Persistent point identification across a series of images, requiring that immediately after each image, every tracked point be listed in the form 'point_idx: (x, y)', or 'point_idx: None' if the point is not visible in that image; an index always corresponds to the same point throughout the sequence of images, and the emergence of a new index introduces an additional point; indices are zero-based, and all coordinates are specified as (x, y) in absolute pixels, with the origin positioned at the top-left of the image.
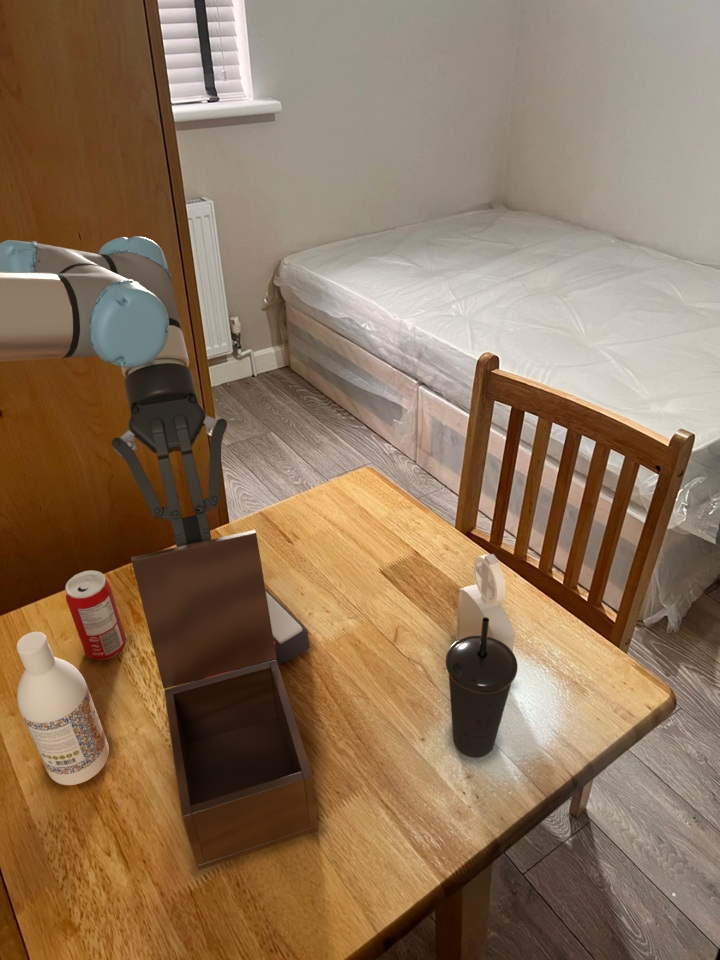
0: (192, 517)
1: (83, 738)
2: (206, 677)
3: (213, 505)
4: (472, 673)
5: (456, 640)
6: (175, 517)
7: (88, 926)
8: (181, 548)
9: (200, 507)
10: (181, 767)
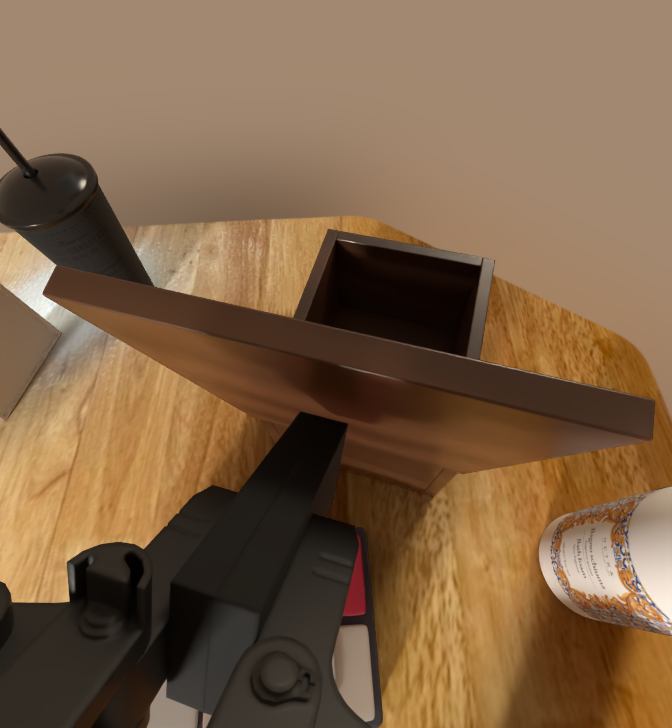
0: (198, 580)
1: (609, 502)
2: (357, 554)
3: (14, 610)
4: (70, 169)
5: (6, 418)
6: (295, 646)
7: (585, 339)
8: (382, 346)
9: (102, 569)
10: (477, 316)
